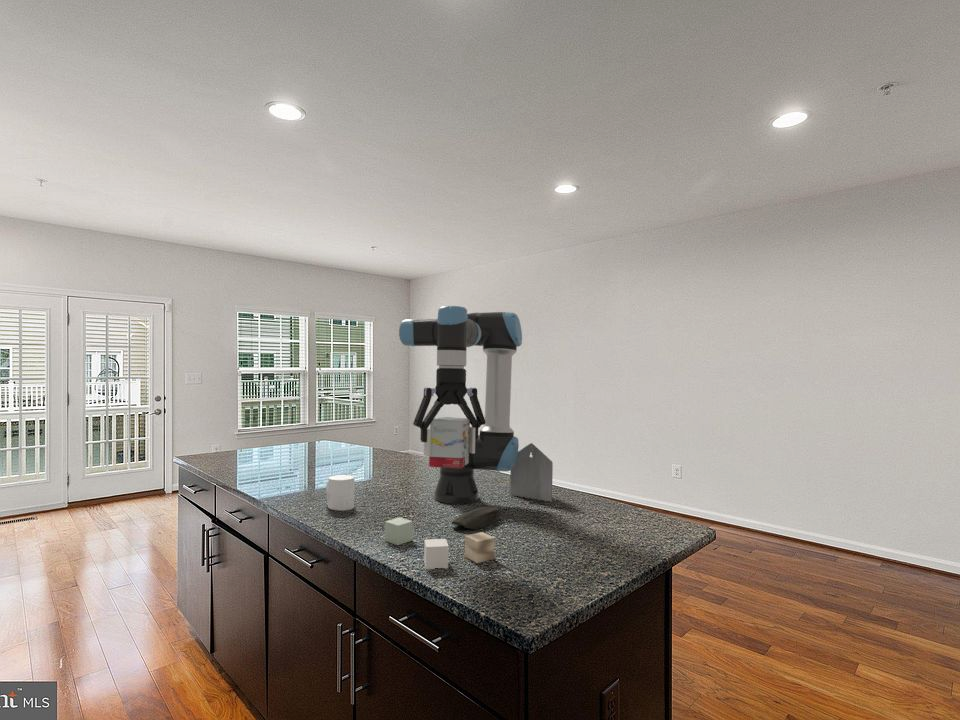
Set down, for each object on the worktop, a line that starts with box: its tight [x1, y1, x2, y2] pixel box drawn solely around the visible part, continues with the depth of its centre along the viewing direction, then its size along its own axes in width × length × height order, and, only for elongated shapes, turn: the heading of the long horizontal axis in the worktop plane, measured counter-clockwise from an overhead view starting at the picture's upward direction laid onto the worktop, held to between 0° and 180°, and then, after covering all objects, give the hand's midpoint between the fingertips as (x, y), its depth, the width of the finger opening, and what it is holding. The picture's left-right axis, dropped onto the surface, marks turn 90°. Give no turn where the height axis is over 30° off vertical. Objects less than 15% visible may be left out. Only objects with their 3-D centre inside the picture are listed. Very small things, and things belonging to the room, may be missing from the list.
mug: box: [325, 474, 356, 511], centre depth 163 cm, size 12×9×8 cm
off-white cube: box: [423, 538, 450, 570], centre depth 115 cm, size 5×5×5 cm
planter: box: [509, 442, 554, 503], centre depth 180 cm, size 16×8×19 cm, turn 58°
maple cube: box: [464, 532, 495, 564], centre depth 120 cm, size 5×5×5 cm
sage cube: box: [384, 516, 414, 546], centre depth 131 cm, size 5×5×5 cm
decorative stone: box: [451, 506, 502, 530], centre depth 146 cm, size 17×6×4 cm, turn 138°
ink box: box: [428, 416, 471, 468], centre depth 128 cm, size 9×9×12 cm
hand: (449, 454), depth 128 cm, fingers closed on ink box, 11 cm apart
